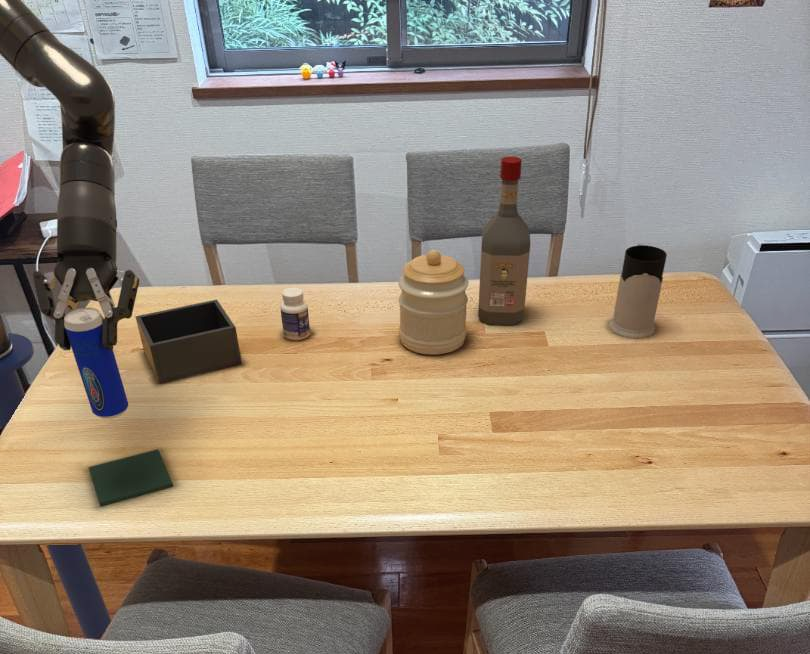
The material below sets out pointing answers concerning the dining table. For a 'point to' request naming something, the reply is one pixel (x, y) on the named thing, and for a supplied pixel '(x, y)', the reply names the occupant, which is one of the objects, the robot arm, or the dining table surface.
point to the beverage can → (95, 363)
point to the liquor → (505, 255)
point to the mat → (130, 477)
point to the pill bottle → (294, 314)
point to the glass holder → (638, 291)
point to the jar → (433, 304)
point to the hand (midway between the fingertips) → (86, 348)
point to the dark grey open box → (189, 340)
